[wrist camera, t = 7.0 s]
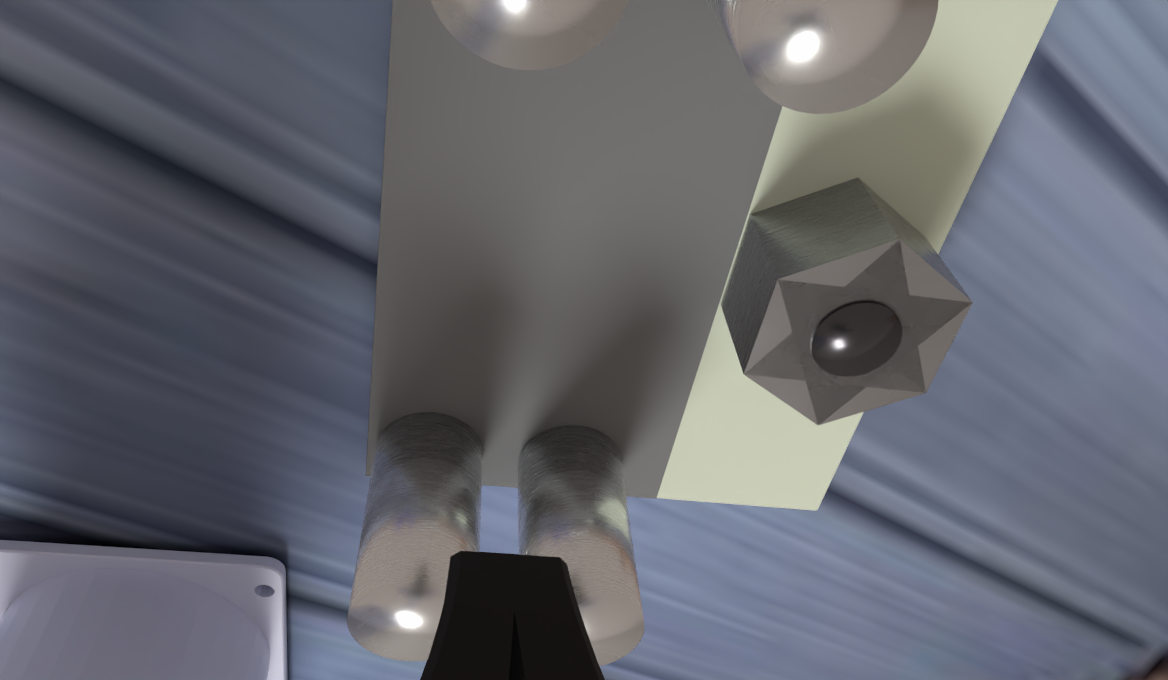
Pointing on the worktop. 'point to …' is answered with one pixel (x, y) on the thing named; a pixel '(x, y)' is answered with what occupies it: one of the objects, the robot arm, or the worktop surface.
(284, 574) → the robot arm
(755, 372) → the nut
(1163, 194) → the worktop surface
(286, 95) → the worktop surface
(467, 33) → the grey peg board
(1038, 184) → the worktop surface
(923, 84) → the mat
